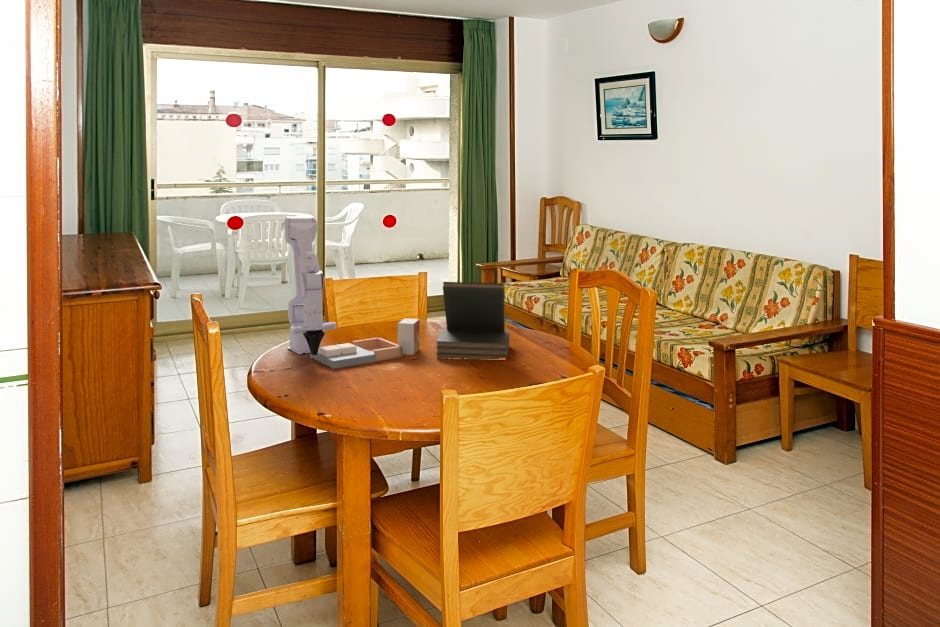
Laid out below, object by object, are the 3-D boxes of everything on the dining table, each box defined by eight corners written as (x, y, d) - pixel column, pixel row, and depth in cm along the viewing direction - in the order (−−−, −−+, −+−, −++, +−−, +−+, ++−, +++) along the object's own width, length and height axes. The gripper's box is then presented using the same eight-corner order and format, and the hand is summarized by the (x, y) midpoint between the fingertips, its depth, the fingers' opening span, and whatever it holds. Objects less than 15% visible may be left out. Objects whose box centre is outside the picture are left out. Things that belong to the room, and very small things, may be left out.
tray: (352, 351, 263) (352, 341, 262) (378, 347, 269) (378, 337, 268) (375, 361, 251) (375, 350, 250) (402, 356, 257) (402, 346, 256)
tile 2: (335, 351, 253) (334, 344, 253) (349, 348, 256) (348, 342, 256) (342, 354, 249) (342, 348, 249) (356, 352, 252) (356, 346, 252)
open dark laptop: (509, 347, 273) (511, 275, 268) (507, 362, 254) (509, 285, 249) (442, 345, 275) (443, 273, 270) (435, 359, 255) (436, 283, 250)
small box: (413, 355, 259) (413, 323, 257) (397, 354, 260) (397, 323, 258) (419, 349, 267) (420, 318, 265) (403, 348, 268) (403, 318, 266)
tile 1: (319, 353, 250) (319, 347, 250) (333, 351, 253) (333, 345, 252) (326, 356, 246) (326, 350, 246) (341, 354, 249) (340, 348, 249)
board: (310, 357, 254) (310, 350, 254) (351, 351, 263) (351, 343, 263) (333, 368, 242) (333, 361, 241) (376, 361, 251) (376, 354, 250)
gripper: (296, 316, 236) (297, 360, 239) (340, 310, 244) (341, 353, 247) (286, 312, 241) (288, 355, 244) (329, 307, 250) (330, 349, 253)
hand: (314, 354), depth 246 cm, fingers closed
